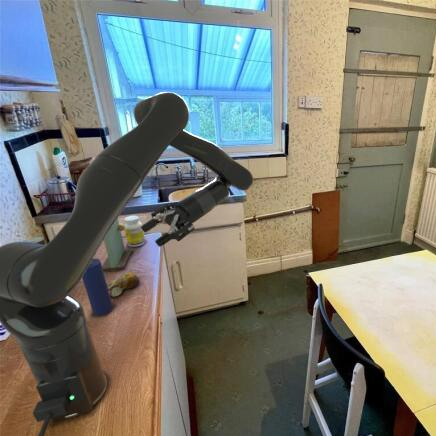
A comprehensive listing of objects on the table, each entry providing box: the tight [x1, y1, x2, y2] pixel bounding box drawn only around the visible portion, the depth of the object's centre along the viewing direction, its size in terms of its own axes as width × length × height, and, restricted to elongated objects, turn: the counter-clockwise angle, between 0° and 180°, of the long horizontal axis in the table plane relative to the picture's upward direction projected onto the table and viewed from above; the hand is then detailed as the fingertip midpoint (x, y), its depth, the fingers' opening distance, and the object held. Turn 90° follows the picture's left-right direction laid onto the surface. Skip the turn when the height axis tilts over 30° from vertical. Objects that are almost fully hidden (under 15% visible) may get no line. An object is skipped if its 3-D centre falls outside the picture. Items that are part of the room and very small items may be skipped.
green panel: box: [102, 217, 132, 273], centre depth 95 cm, size 11×12×30 cm
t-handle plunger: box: [82, 258, 114, 317], centre depth 74 cm, size 8×5×22 cm, turn 15°
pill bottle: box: [123, 215, 146, 248], centre depth 111 cm, size 6×6×11 cm
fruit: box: [107, 272, 140, 297], centre depth 87 cm, size 8×8×4 cm
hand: (149, 236), depth 80 cm, fingers open, 8 cm apart
